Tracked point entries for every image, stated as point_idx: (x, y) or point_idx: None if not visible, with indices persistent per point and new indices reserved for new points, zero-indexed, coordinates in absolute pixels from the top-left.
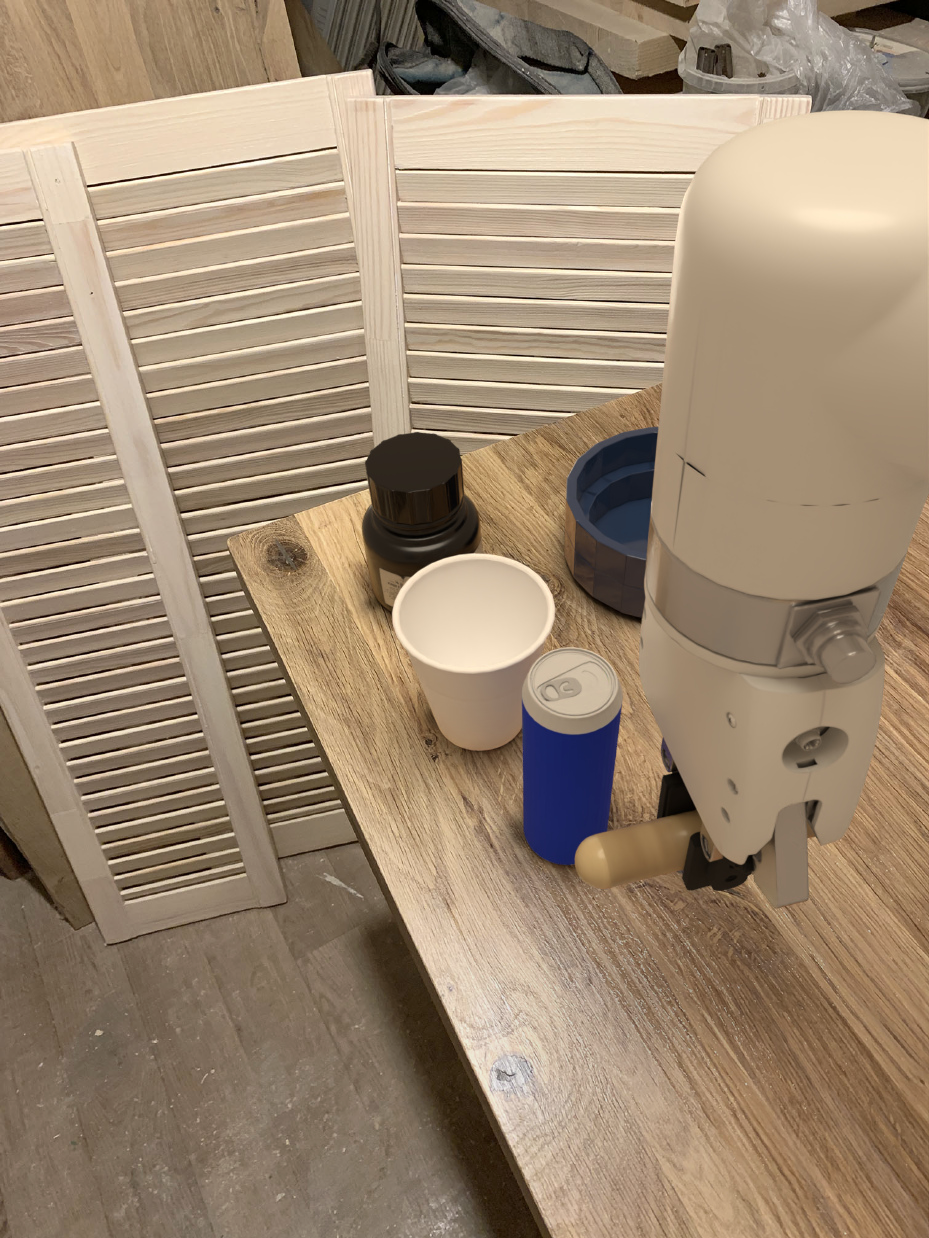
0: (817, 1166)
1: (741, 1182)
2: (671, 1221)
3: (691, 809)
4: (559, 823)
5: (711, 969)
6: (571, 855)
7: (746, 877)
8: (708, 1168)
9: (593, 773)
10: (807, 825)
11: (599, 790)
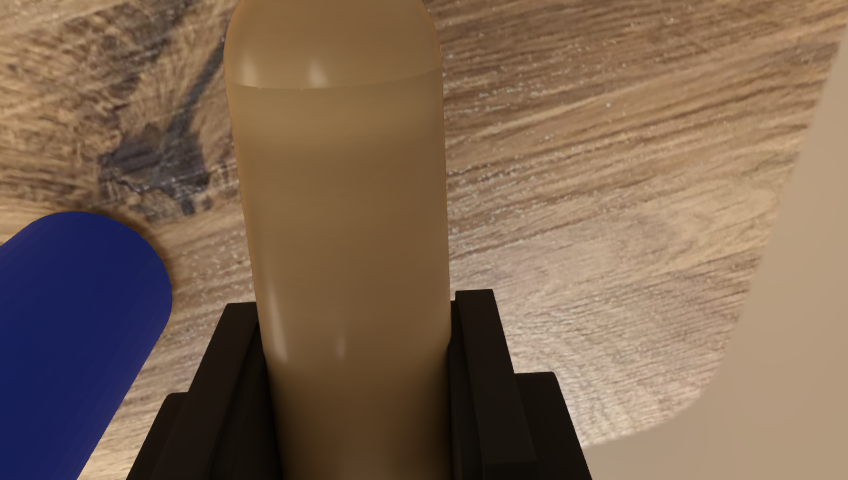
0: (756, 37)
1: (735, 163)
2: (746, 275)
3: (279, 476)
4: (119, 403)
5: None
6: (162, 315)
7: (560, 389)
8: (702, 205)
9: (34, 466)
10: (430, 130)
11: (63, 386)
